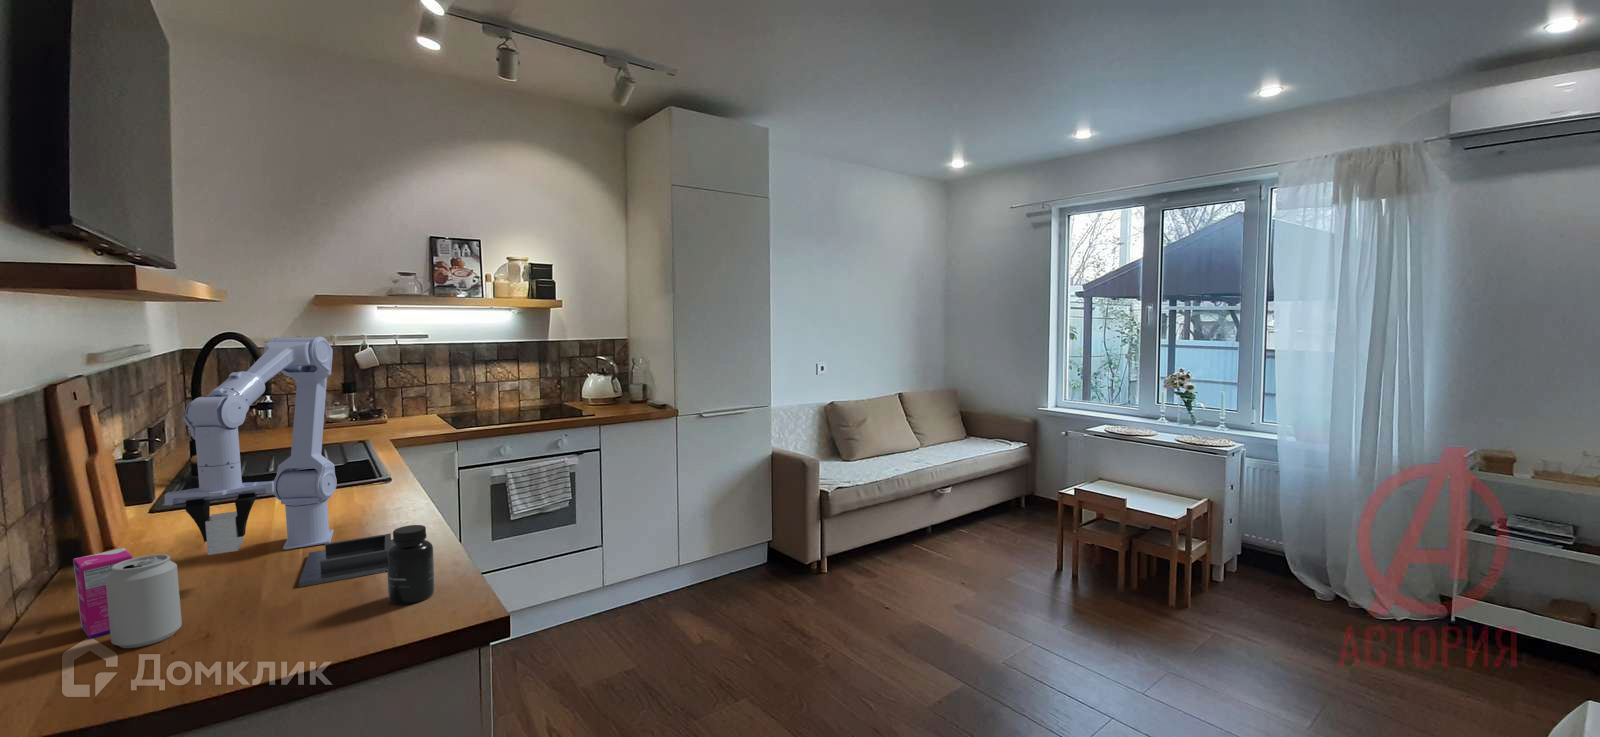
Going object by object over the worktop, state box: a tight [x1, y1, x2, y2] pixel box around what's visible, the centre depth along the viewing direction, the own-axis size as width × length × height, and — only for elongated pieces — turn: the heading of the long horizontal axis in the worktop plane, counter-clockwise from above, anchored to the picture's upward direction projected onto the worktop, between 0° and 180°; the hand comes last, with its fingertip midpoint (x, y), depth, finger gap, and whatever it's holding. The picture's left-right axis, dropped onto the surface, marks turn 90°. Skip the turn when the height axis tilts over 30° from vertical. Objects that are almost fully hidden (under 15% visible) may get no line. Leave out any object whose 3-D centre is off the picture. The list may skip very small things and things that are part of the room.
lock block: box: [205, 510, 244, 556], centre depth 116 cm, size 5×4×6 cm
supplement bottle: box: [386, 524, 435, 606], centre depth 111 cm, size 7×7×12 cm
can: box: [105, 553, 183, 649], centre depth 97 cm, size 8×8×12 cm
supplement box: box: [72, 547, 134, 639], centre depth 100 cm, size 6×6×12 cm
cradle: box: [298, 533, 395, 588], centre depth 127 cm, size 18×16×3 cm
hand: (225, 537), depth 117 cm, fingers closed on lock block, 4 cm apart
